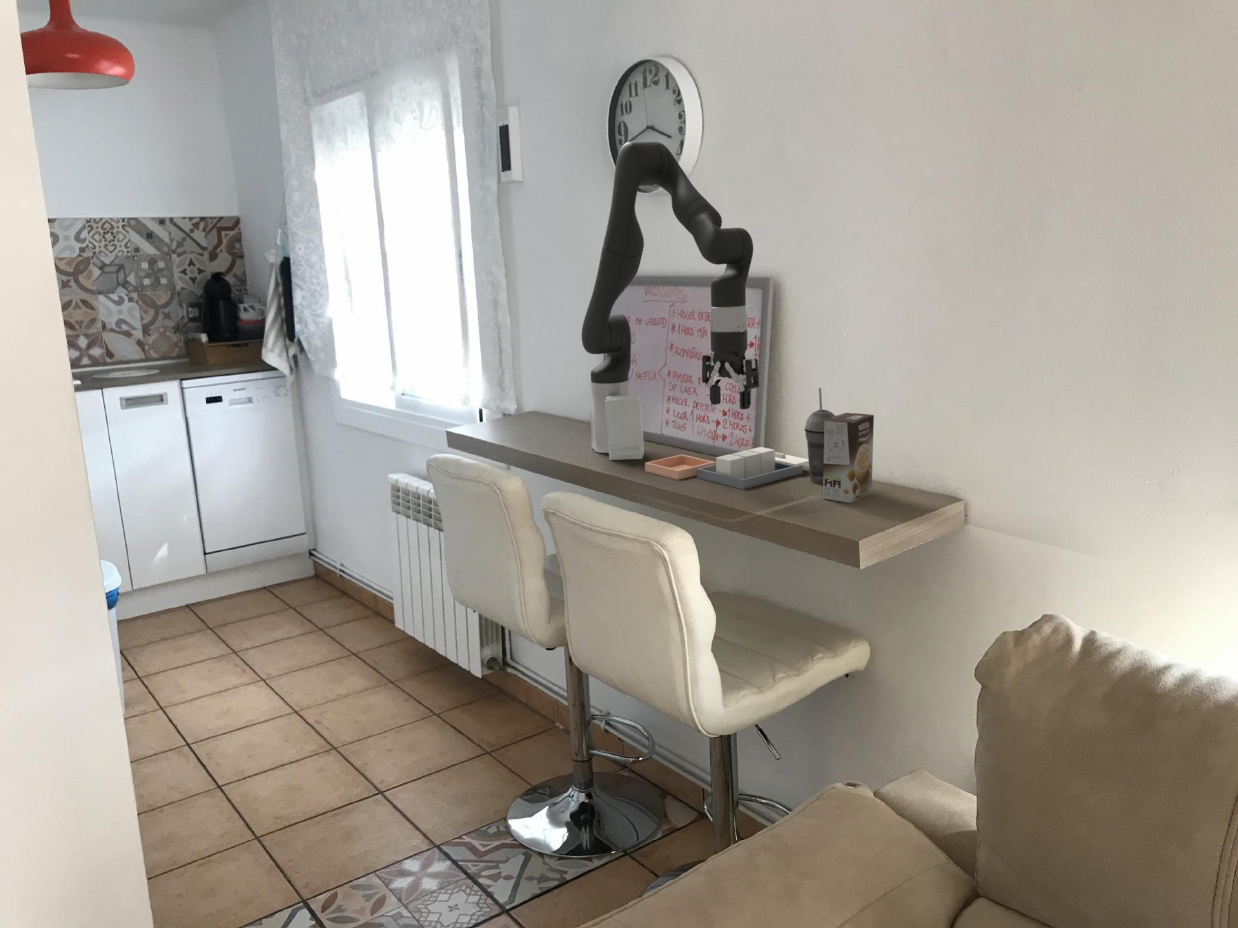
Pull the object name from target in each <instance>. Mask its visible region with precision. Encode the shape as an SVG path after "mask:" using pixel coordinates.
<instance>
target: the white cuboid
mask: <svg viewBox="0 0 1238 928" xmlns="http://www.w3.org/2000/svg"><path fill="white" fill-rule="evenodd" d="M732 455H736V456H741V457H744V479H746V478H750V477H753V476H757V475H760V453H756V452H751V451H747V450H743V451H742V450H741V451H739V452H738V451H737V452H734V453H732Z"/></svg>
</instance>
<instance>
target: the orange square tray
mask: <svg viewBox="0 0 1238 928" xmlns="http://www.w3.org/2000/svg"><path fill="white" fill-rule="evenodd" d="M715 464H716V461H713V460H712V461H711V460H708V459H703V458H700V457H695V456H691V455H687V454H682V453H681V454H678V455H673V456H669V457H665V458H660V459H656V460H652V461H648V462H647V461H646V462H644V469H645V470H644V471H645V472H647V473H650V474H654V475H659V476H662V477H665V478H670V479H673V480H677V481H679V480H683V479H687V478H692V477H697V469H698V468H702V467H706V466H710V465H715Z"/></svg>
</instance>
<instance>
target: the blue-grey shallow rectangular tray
mask: <svg viewBox="0 0 1238 928" xmlns="http://www.w3.org/2000/svg"><path fill="white" fill-rule="evenodd" d="M805 465H809V459H808V458H803V457H798V456H794V455H789V454H786V453H783V452H779V451H778V452H777V451H775V471H773V472H769V473H765V474H761V475H757V476H753V477H750V478H746V479H741V478H737V477H732V476H728V475H724V474H720V473H716V463H715V465H710V466H706V467H702V468H698V469H697V475H696V478H697V479H701V480H705V481H709V482H712V483H716V484H721V485H725V486H728V487H733V488H736V489H740V490H746V489H751V488H754V487H758V486H761V485H765V484H769V483H772V482H773V483H774V482H776V481H780V480H784V479H787V478H790V477H795V476H797V475H803V466H805Z"/></svg>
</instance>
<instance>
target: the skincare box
mask: <svg viewBox="0 0 1238 928" xmlns="http://www.w3.org/2000/svg"><path fill="white" fill-rule="evenodd" d="M605 409H606V422H607V435H608V447H609V453H608V459H609V461H621V460H622V461H624V460H643V458H644V453H645V447H644V446H645V444H644V433H643V432H644V431H643V418H642V417H643V415H642V402H641V394H640V393H637V394H635V393H634V394H629V395H620V396H607V398H606V400H605Z"/></svg>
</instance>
